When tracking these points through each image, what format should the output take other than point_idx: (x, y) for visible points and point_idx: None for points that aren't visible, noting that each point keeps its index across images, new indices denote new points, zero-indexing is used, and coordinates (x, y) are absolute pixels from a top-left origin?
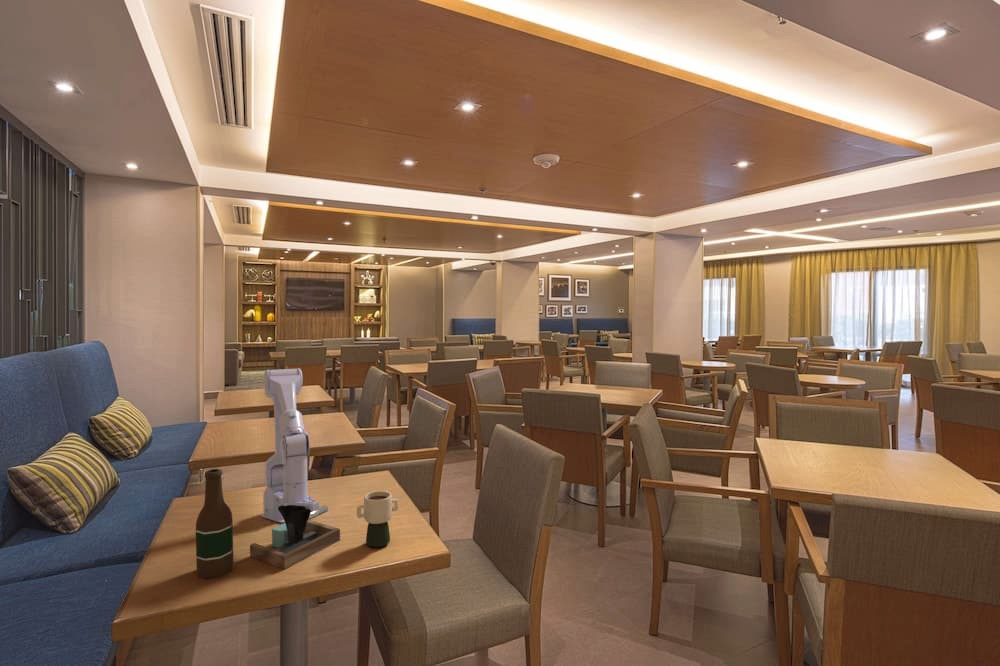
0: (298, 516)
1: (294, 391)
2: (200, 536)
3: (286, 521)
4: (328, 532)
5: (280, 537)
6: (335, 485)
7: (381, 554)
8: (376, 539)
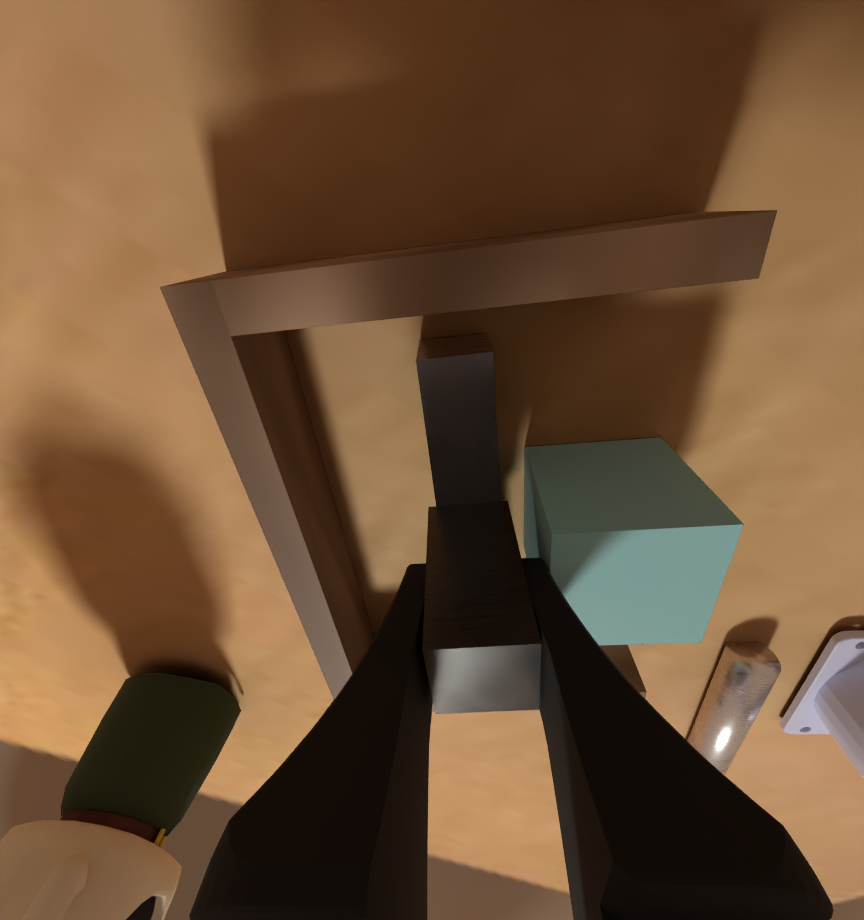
0: (259, 791)
1: None
2: None
3: (561, 650)
4: (348, 672)
5: (584, 494)
6: (826, 868)
7: (77, 649)
8: (108, 715)
